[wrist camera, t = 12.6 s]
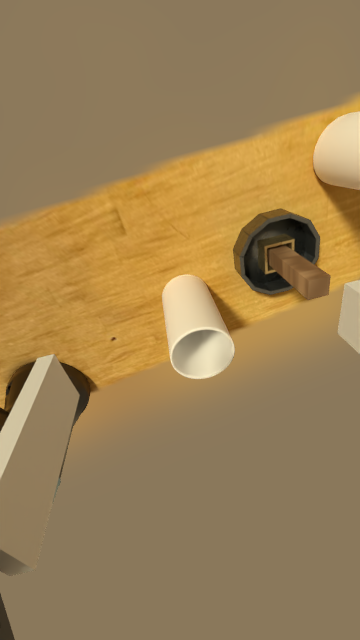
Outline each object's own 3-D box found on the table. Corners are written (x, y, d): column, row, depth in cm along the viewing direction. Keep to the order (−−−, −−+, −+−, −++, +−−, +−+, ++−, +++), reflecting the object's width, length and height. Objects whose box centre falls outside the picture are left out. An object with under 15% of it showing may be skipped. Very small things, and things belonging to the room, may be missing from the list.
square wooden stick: (264, 260, 45) (307, 299, 33) (263, 245, 43) (308, 281, 31) (279, 256, 44) (328, 294, 33) (279, 241, 43) (330, 275, 31)
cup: (211, 310, 49) (238, 370, 36) (168, 321, 49) (178, 385, 36) (204, 269, 45) (231, 320, 31) (156, 281, 45) (162, 337, 31)
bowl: (237, 291, 48) (243, 301, 45) (230, 220, 41) (236, 226, 38) (305, 275, 47) (316, 283, 44) (309, 201, 41) (322, 205, 38)
